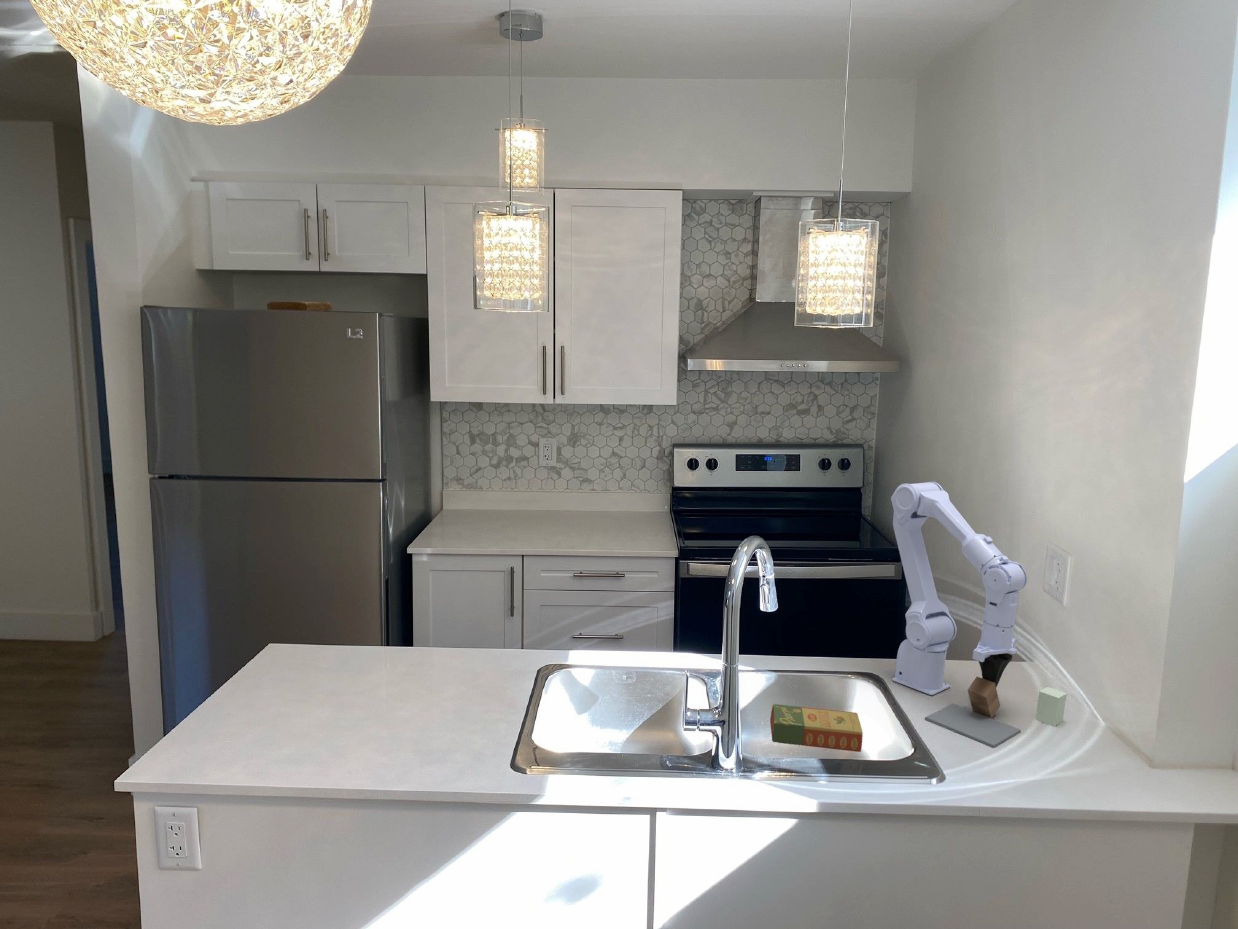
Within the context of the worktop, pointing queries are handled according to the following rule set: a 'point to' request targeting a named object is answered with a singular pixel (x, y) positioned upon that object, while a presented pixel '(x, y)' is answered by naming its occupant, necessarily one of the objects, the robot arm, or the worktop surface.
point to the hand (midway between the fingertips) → (989, 687)
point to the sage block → (1050, 706)
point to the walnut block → (983, 697)
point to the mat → (973, 725)
